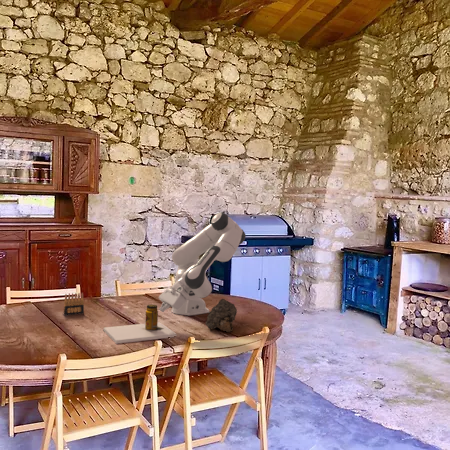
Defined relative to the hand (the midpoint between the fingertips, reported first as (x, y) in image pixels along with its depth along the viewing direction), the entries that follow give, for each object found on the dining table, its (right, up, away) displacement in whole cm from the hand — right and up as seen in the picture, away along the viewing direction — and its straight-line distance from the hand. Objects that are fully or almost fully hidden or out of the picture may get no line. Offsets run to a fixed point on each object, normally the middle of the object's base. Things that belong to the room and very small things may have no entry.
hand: (160, 310), depth 243 cm
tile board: (-10, -10, -5) cm, 15 cm away
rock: (+31, -11, +9) cm, 34 cm away
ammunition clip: (-52, -7, +25) cm, 58 cm away
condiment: (-4, -9, -1) cm, 10 cm away
